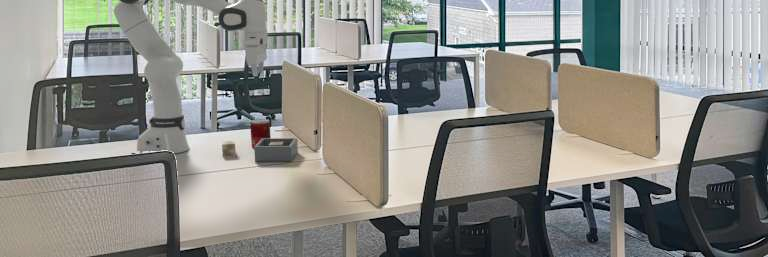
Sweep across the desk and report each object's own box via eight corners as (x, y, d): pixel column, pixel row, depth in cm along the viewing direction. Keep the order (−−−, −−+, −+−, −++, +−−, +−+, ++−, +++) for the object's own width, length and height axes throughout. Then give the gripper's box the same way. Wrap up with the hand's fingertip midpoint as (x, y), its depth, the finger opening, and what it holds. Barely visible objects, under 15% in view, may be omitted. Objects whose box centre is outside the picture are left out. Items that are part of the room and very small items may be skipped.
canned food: (267, 149, 292) (265, 122, 289) (248, 148, 293) (247, 122, 291) (273, 144, 299) (272, 118, 297) (255, 144, 301) (254, 118, 298)
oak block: (222, 156, 281) (221, 144, 280) (222, 153, 286) (222, 141, 285) (235, 156, 282) (234, 143, 281) (235, 153, 287) (234, 140, 286)
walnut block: (269, 157, 276) (268, 144, 275) (271, 154, 281) (271, 141, 280) (282, 157, 276) (281, 144, 274) (284, 154, 280) (283, 141, 279)
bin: (255, 162, 272) (254, 146, 270) (262, 153, 285) (262, 138, 284) (291, 161, 271) (291, 146, 270) (297, 152, 285) (297, 138, 283)
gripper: (254, 36, 290) (256, 71, 293) (241, 41, 270) (244, 78, 273) (269, 36, 290) (271, 70, 293) (258, 41, 270) (260, 78, 273)
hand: (258, 74), depth 283 cm, fingers open, 8 cm apart
